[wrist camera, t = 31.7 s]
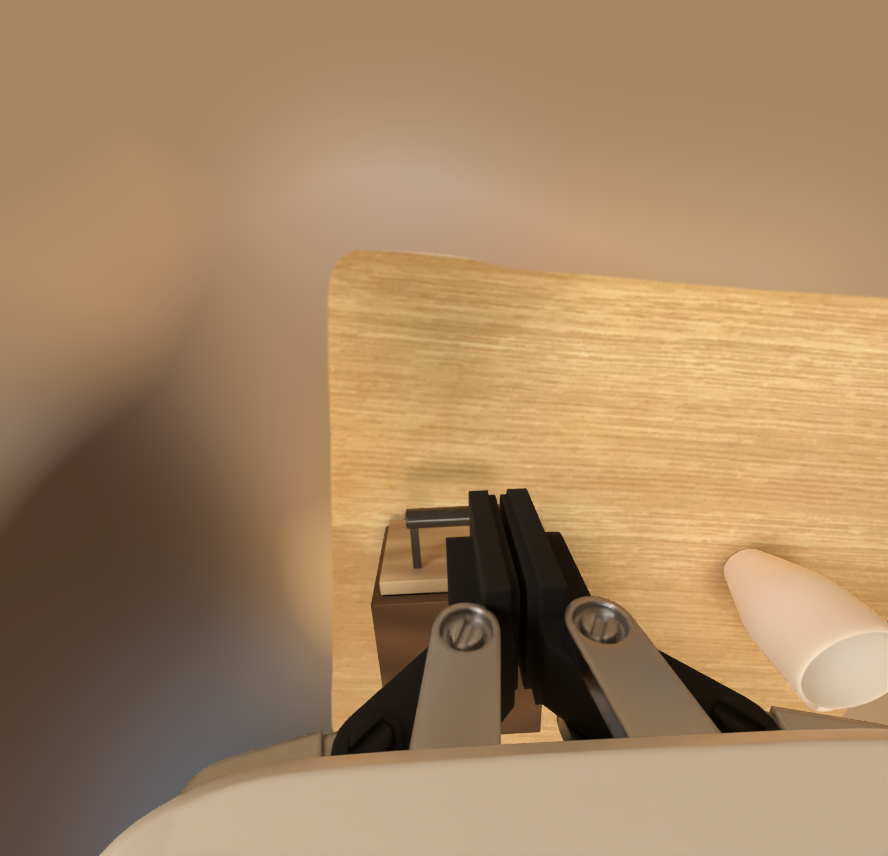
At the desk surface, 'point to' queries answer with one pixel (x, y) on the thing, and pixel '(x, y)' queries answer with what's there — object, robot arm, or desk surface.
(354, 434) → the desk surface
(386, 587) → the drawer
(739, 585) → the mug
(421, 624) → the cabinet
